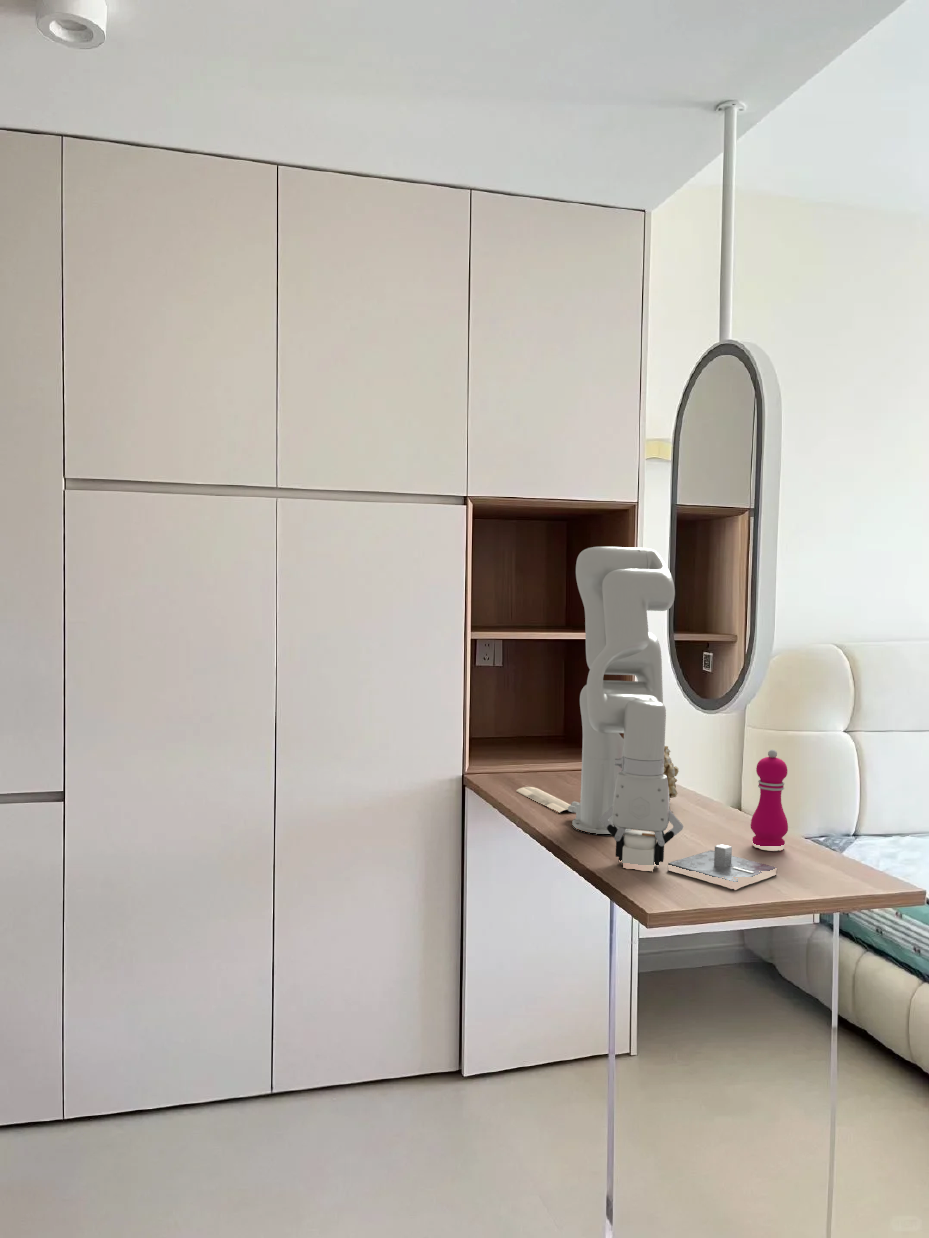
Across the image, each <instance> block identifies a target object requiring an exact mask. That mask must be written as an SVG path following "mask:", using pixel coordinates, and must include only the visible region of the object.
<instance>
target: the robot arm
mask: <svg viewBox="0 0 929 1238" xmlns="http://www.w3.org/2000/svg"><path fill="white" fill-rule="evenodd" d="M575 579H576V583H577V584H576V585H577V589H578V592H579V595H580V598H581V601H582V604H583V605H582V606H583V607H584V618H585V619H584V620H585V622H584V625H585V631H584V632H585V633H584V634H585V659H586V664H587V667H588V669H589V671H588V673H587V674H588V675H587V679H586V684H585V685H584V686H583V688H582V689H581V691H580V693H579V707H580V708H579V709H580V715H581V726H582V748H581V751H582V752H581V773H580V774H581V777H580V778H581V779H580V780H581V781H580V802H578V801H575V800H574V801H572V802H571V803H570V806H569V807H568V810H567V811H568V812H571V813H575V814H576V815H575V818H574V819H573V820H572V823H571V824H572V825H573V826H574V827H575V828H578V829H580V830H583V831H587V832H590V833H596V834H595V835H597V834H611V835H610V836H612V837H613V839H614V841H615V857H617V858H618V861H619V860H620V861H621V860H622V854H623V846H624V833H625V832H626V831H633V830H639V831H647V832H651V833H653V832H654V834H655V836H656V839H657V844H656V846H655V864H656V865H659V862H660V863H664V859H665V858H664V857H665V844H667V843H668V842H669V841H671V840H672V839H673V838H674V837H675V836H677V835H678V834H679V833H680V832H681V831H683V830H684V824H683V823H682V822H681V821H680V820H679V819H678V818H677V816H676V815H675V814H674V812H672V811H671V810H670V808H671V807H670V802H669V787H668V780H667V776H666V775H664V748H665V746H666V745H665V744H666V742H665V741H666V723H667V712H666V711H667V708H666V706H665V704H664V694H663V693H664V691H663V665H662V663H663V661H662V658H663V657H662V651H661V645H660V641H659V640H658V638H657V636H656V635H655V634H653V633H652V632H650V631H649V622H648V612H649V611H651V612H653V611H654V612H657V611H658V612H665V611H668V610H669V609H671V607H672V606H673V604H674V601H675V597H676V589H675V588H676V587H675V583H674V579H673V576H672V573H671V572H670V569H669V568H668V566H667V564H666V563H665V561H664V559H663V558H662V557H661V555H660V554H659V552H657V550H655V549H652V548H649V547H627V546H626V547H624V546H623V547H622V546H593V547H592V546H591V547H587V548H585V549H583V550H582V551H581V552H579V554H578V556H577V558H576V564H575ZM604 675H615V676H617V675H620V676H621V675H622V676H635V678H636V680H637V681H635V680H634V681H633V680H604ZM621 734H623V736H622V735H621ZM669 823H670V824H671V825H672V826H673V827H671V829H668V830H667V828H668V826H669ZM572 825H571V826H572ZM573 826H572V827H573ZM574 827H573V828H574ZM575 828H574V829H575ZM666 830H667V832H664V831H666ZM590 833H589V834H590ZM659 866H660V865H659Z"/></svg>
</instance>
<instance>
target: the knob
mask: <svg viewBox="0 0 929 1238" xmlns="http://www.w3.org/2000/svg"><path fill="white" fill-rule="evenodd" d="M623 836H624V846H623V854H622V863H630V864H638V865H654V862H655V846H656V844H657V839H656V836H655V833H653V832H652V831H642V830H633V829H632V830H631V831H626V832H625V833H624V834H623ZM622 863H621V864H622Z"/></svg>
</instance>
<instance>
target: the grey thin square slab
mask: <svg viewBox="0 0 929 1238" xmlns="http://www.w3.org/2000/svg"><path fill="white" fill-rule="evenodd" d="M732 854H733V846H730V845H726V844H723V843H721V844H717V845H715V846H714V850H711V849H710V850H708V851H704V852H701V853H697V854H694V855H691V856H686V857H683V858H680V859H677V860H673V861H671V862H667V866H668V865H672V866H676V867H679V868H682V869H686V870H689V871H696V872H699V873H703V874H705V875H709V876H712V877H718V878H722V877H724V878H722V879H725V880H729V881H733V882H738V878H736V880H737V881H736V880H735V879H734V878H733V877H753V876H755V875H758V874H760V873H762V872H761V871H770V870H773V869H775V868H777V869H778V867H776V866H773V865H768V864H766V863H762V862H761V863H760V862H757V861H754V860H749V859H746V858H742V857H738V856H735V855H732ZM759 871H760V872H759ZM726 878H727V879H726ZM732 879H733V880H732Z"/></svg>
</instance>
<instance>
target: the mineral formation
mask: <svg viewBox="0 0 929 1238" xmlns="http://www.w3.org/2000/svg"><path fill="white" fill-rule="evenodd" d="M671 752H672V751H671V750H670V749H669V746H667V745H665V748H664V775H666V776H667V780H668V787H669V803H670V802H671V799H672V798H673V799H674V798H676V797H677V795H678V791H677V785H676V783H677V781H678V779H677V778H676V777H677V776H678V774H679V772H680V771H679V768H678V767H677V766H674V763H673V762H672V761H673V760H672V758H671V757H670V753H671Z"/></svg>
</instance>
